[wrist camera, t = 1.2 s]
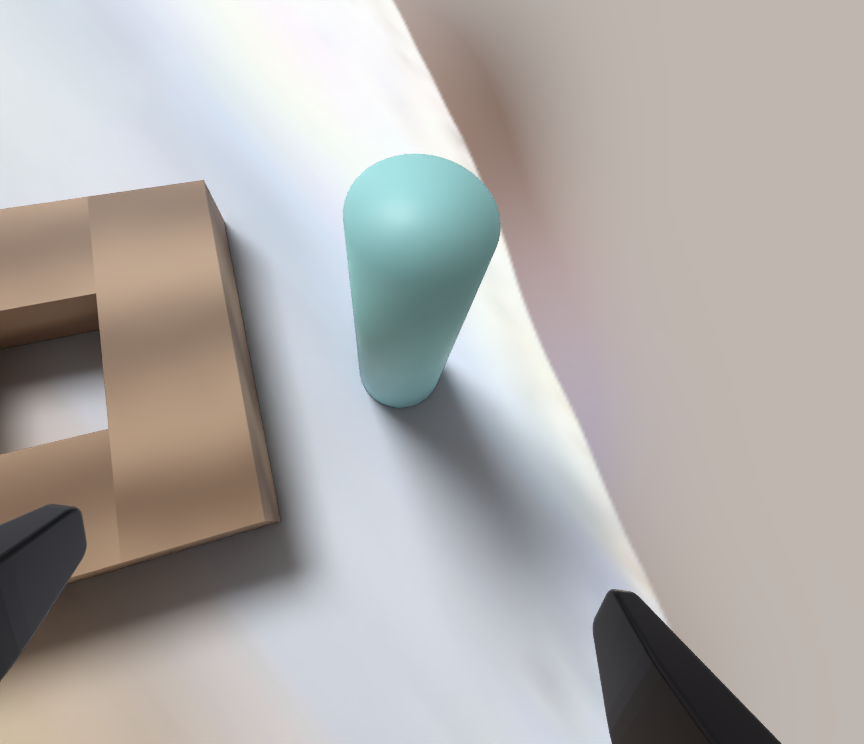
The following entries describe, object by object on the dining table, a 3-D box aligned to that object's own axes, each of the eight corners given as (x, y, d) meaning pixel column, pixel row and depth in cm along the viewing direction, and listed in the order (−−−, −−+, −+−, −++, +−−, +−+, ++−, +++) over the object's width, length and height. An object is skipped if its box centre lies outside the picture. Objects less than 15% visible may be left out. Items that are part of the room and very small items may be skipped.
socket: (280, 521, 20) (264, 521, 17) (-159, 650, 17) (-268, 676, 14) (223, 219, 24) (203, 180, 21) (-134, 278, 21) (-213, 239, 18)
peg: (439, 409, 22) (503, 292, 11) (357, 406, 22) (336, 281, 11) (439, 334, 24) (497, 161, 12) (362, 330, 23) (348, 146, 12)
